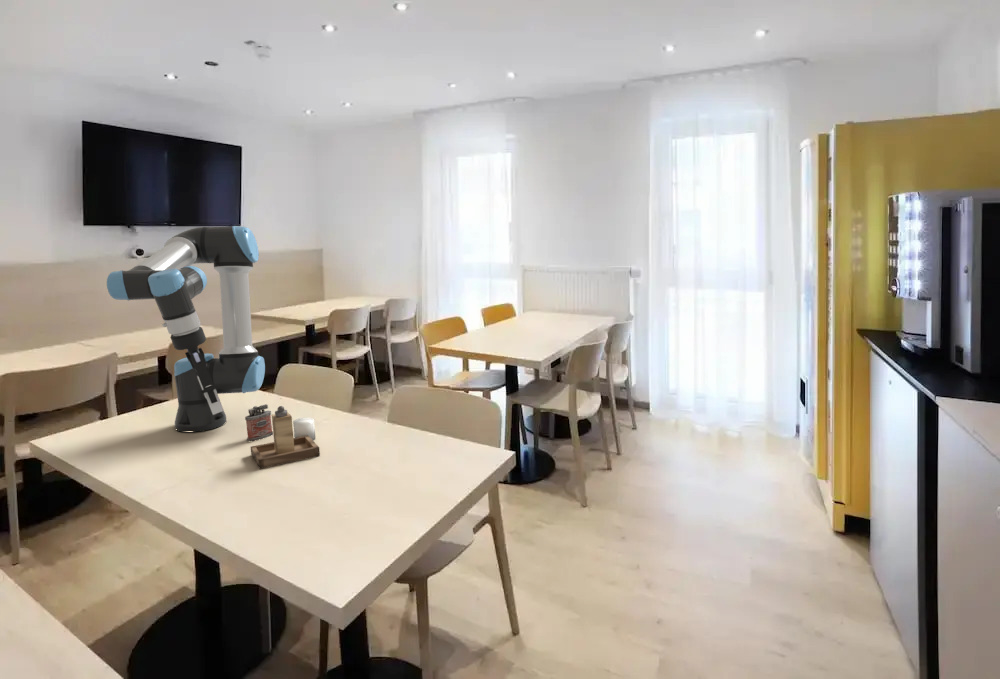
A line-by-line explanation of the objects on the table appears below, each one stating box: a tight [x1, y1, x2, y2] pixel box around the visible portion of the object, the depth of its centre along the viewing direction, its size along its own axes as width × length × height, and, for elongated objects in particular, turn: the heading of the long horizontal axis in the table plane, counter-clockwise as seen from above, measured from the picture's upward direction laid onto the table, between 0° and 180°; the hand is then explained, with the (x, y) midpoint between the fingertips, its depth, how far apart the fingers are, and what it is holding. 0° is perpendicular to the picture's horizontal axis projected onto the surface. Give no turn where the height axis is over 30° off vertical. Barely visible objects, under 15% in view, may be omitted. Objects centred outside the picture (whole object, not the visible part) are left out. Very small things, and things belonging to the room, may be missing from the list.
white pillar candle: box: [292, 417, 316, 441], centre depth 174 cm, size 6×6×6 cm
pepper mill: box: [271, 405, 295, 455], centre depth 161 cm, size 4×4×14 cm
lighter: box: [244, 403, 274, 442], centre depth 176 cm, size 8×3×10 cm, turn 143°
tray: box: [250, 435, 321, 470], centre depth 162 cm, size 12×16×2 cm
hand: (214, 403), depth 153 cm, fingers open, 13 cm apart
